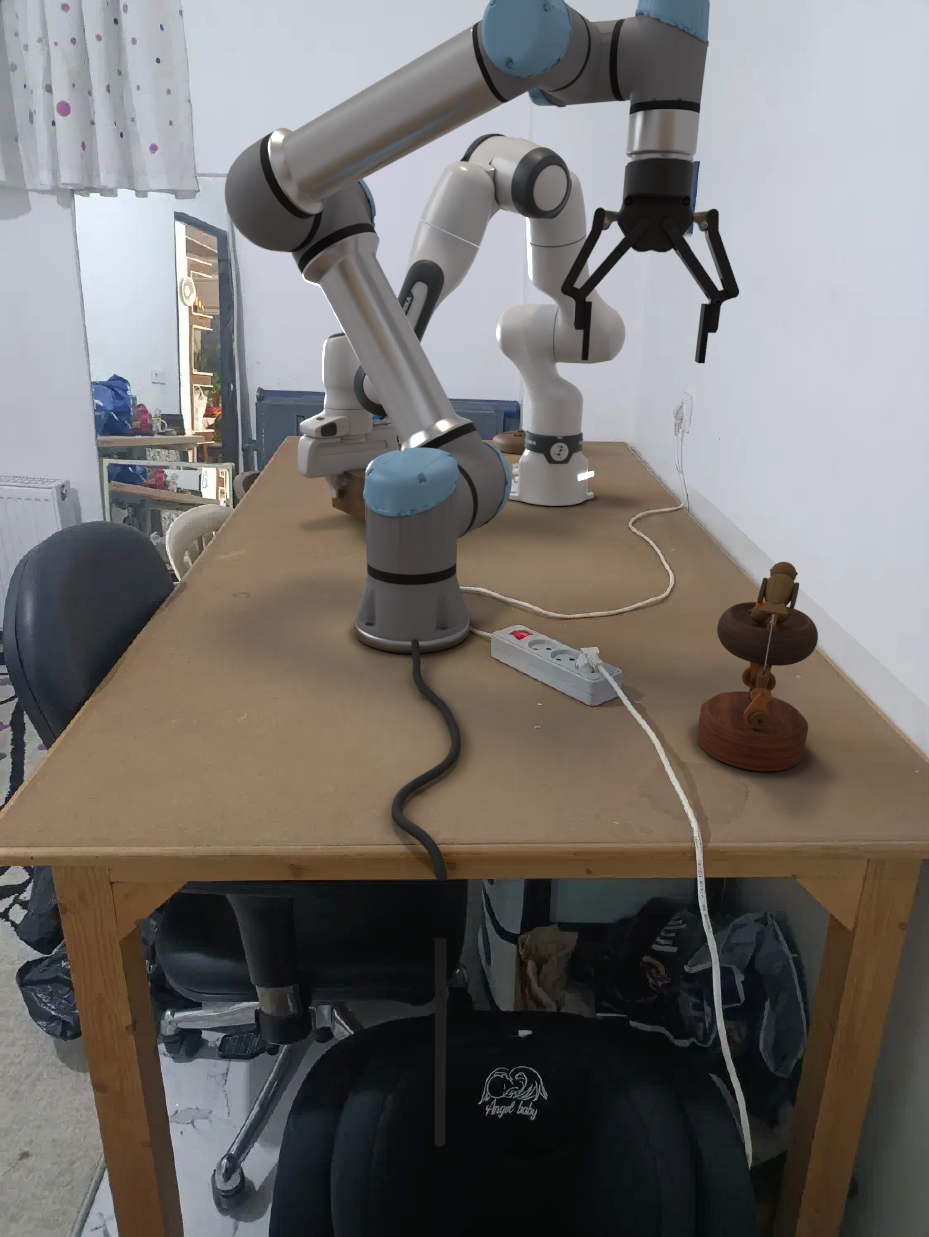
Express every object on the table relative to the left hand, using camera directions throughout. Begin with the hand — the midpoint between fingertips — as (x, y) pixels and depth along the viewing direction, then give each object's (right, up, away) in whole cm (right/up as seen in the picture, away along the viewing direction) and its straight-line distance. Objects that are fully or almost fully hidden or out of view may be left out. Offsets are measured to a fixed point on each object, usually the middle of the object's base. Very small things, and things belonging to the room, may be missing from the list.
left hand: (641, 361), depth 101 cm
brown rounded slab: (-3, +13, +125) cm, 126 cm away
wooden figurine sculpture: (+8, -44, -13) cm, 46 cm away
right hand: (-43, -7, +61) cm, 75 cm away
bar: (-37, -13, +54) cm, 67 cm away
